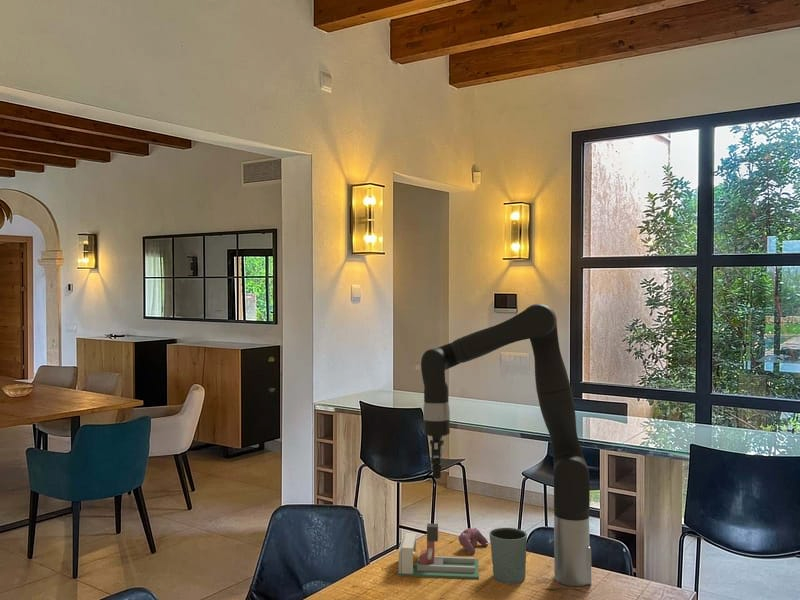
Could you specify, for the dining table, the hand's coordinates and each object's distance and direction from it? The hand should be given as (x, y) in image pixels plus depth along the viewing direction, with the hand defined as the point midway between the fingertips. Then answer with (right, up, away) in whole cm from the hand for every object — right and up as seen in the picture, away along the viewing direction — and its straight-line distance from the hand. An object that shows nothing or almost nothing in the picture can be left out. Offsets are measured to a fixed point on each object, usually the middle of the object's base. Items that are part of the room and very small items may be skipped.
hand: (437, 474), depth 188 cm
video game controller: (+12, -26, +13) cm, 31 cm away
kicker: (-1, -26, -3) cm, 26 cm away
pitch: (0, -26, -3) cm, 26 cm away
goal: (-8, -26, -2) cm, 27 cm away
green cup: (+19, -26, -10) cm, 33 cm away
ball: (-8, -23, -2) cm, 24 cm away
